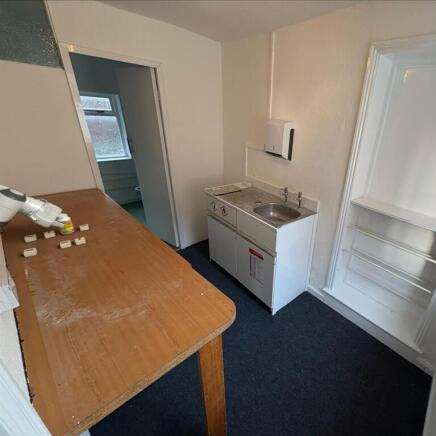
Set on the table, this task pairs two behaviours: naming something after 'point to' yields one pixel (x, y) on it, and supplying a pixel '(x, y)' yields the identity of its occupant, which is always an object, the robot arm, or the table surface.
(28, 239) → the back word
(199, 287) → the table surface
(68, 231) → the supplement bottle
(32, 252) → the front word
